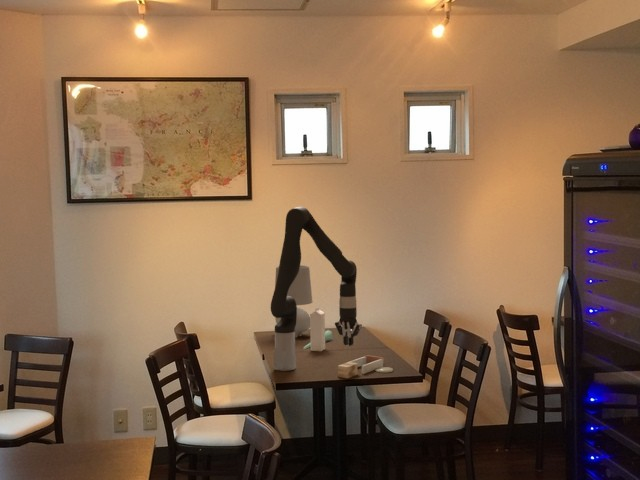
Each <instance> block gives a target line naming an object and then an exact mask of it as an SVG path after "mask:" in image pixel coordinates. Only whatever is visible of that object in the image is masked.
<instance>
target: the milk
mask: <svg viewBox="0 0 640 480" xmlns="http://www.w3.org/2000/svg"><path fill="white" fill-rule="evenodd" d="M325 314H326V313H325V311H323V310H321V309H320V306H317V307H315V309H314V311H313V312H311V313H310V314H309V316H310V328H309V329H310V330H309V331H310V332H309V333H310V342H311V347H310V351H311V352H313V351H314V352H323V351H324V350H325V349H326V342H325V331H326V322H325V321H326V319H325V318H326V317H325Z"/></svg>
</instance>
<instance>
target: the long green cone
mask: <svg viewBox="0 0 640 480" xmlns="http://www.w3.org/2000/svg"><path fill="white" fill-rule="evenodd" d="M333 337H334V335H333V332H332V331H331V330H329V329H327V330H325V343H326V342H329V341H332V339H333ZM302 349H303V350H307V349H311V341H310V342H309V343H307V344H306V345H305V346H303V348H302Z"/></svg>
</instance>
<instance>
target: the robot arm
mask: <svg viewBox="0 0 640 480" xmlns="http://www.w3.org/2000/svg"><path fill="white" fill-rule="evenodd" d="M284 229H285V230H284V239H283V245H282V249H281V253H280V254H281V255H280V259H279V260H280V261H279V265H278V266H279V271H278V277H277V282H276V286H275V285H274V290H273V295H272V298H271V301H270V312H271V314H272V316H273V317H274V318H275V317H276V318H281V320H280V321H279V323H278V324H276V323H275V325H274V348H273V369H274V370H276V371H281V372H286V371H287V372H288V371H294V370H295V369H296V367H297V366H296V337H295V326H296V320H297V308H298V305H296V301H295V299H294V298H293V297H291V296H287V293H288V290H289V288H290V286H291V284H292V283H293V281H294V280H295V278H296V276H297V274H298V272H299V269H300V265H301V262H302V250H301V236H302V233H303V231H304V232H306V233H307V234H308V235H309V236H310V237H311V239H312V240H313V242H314V244H315V246H316V247H317V249H318V251H319V252H320V253H321V254H322V255H323V256H324V258H326V260H327V261H328V262H330V263H331V265H332V267H333V268H334V270H335V271H336V272H337V273H338V275H340V276H341V279H340V281H341V282H340V284H339V301H338V302H339V303H338V304H339V306H338V308H339V311H338V312H339V320H338V321H336V322H334V326H335V328H336V330H337V332H338V334H339V336H343V337H342V338H343V340H342V341H343V345H344V346H349V347H351V346H353V345H354V337H357V336H358V335H359V332H360V331H361V329H362V326H363V325H362V323H359V322H358V321H357V314H358V312H357V311H358V309H357V294H356V293H357V292H356V291H357V290H356V289H357V287H356V284H357V283H356V282H357V275H358V274H357V270H358V269H357V265H356V263H355V262H354V261H353V260H348V259H347V258H346V257H345V256H344V254H343V251H342V250H341V248H339V247H338V246H337V244H335V242H334V241H333V240H331V238H330V237H329V236H328V235H327V234H326V233H325V231H324V230H323V229H322V228H321V226H320V225H319V224H318V222H317V221H316V220H315V218H314V216H313V214H312V213H311V212H310V211H309V209H308V208H307V207H304V206H296V207H293V208H291V209H289V211H288V212H287V214H286V217H285V228H284Z"/></svg>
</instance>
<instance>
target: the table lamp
mask: <svg viewBox="0 0 640 480" xmlns="http://www.w3.org/2000/svg"><path fill="white" fill-rule="evenodd" d="M278 271H279V265H278V266H276V267H275V278H274V279H275V281H274V283H275V284H274V287H275V286H276V282H277V277H278ZM310 272H311V271H310V265H305V264H304V265H302V264H300V269H299V272H298V274H297V276H296V278H295V280H294V281H293V283H292V284H291V286H290V288H289V290H288V293H287V296H291V297H293V298H294V299H295V301H296V305H297V306H306V305H311V304H313V295H312V294H313V293H312V283H311V273H310ZM274 319H275V325H276V324H278V323H279V321H280V320H281V318H276V317H274ZM309 329H310V314H309V312H307V311H306V310H305V309H303V308H301V307H297V320H296V326H295V338H298V337H302V334H303V333H304V332H306V331H308V330H309Z"/></svg>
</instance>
